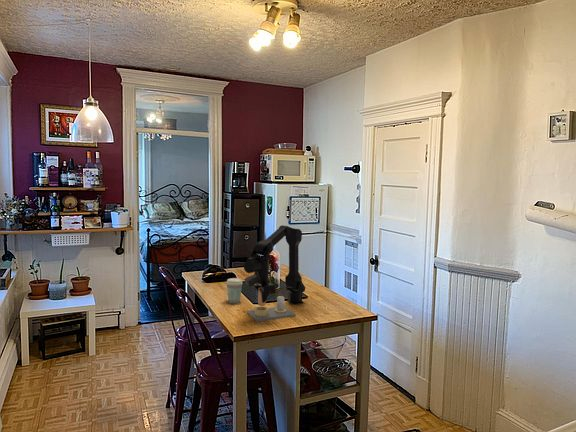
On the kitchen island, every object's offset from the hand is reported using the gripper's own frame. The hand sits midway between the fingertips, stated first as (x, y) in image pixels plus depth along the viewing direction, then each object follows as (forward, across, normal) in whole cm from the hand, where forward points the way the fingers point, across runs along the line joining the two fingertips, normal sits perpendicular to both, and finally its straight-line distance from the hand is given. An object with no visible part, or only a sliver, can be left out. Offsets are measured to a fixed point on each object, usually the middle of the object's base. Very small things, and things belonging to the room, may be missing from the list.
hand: (262, 301), depth 206 cm
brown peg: (+2, 0, 0) cm, 2 cm away
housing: (+7, 0, +5) cm, 9 cm away
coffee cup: (+7, -25, -5) cm, 26 cm away
